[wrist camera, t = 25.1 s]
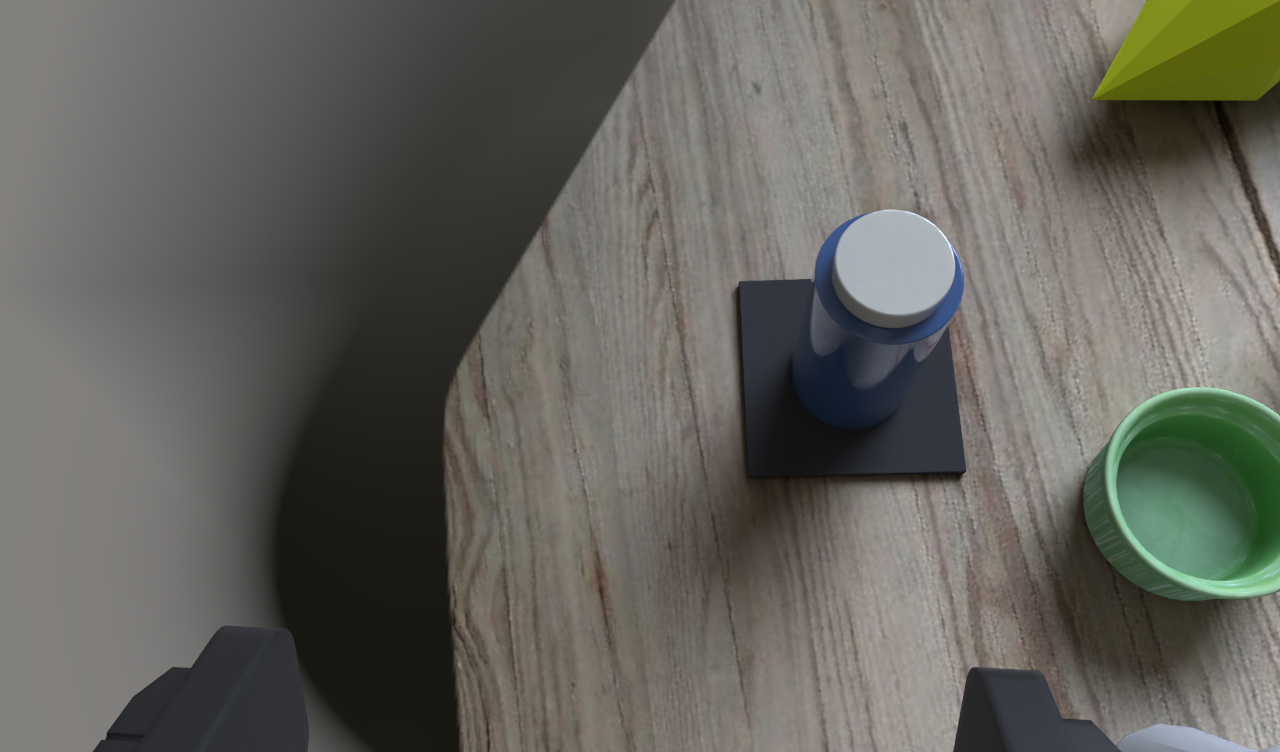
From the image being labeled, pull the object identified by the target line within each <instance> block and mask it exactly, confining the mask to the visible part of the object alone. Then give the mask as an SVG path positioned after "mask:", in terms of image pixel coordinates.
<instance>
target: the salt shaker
mask: <svg viewBox="0 0 1280 752" xmlns="http://www.w3.org/2000/svg"><path fill="white" fill-rule="evenodd" d="M1116 747H1117V748H1118V749H1119V750H1120V751H1121V752H1256V751H1254V750H1251V749H1248V748H1246V747H1243V746H1240V745H1238V744H1235V743H1232V742H1229V741H1227V740H1224V739H1221V738H1219V737H1216V736H1213V735H1211V734H1208V733H1205V732H1203V731H1200V730H1197V729H1195V728H1190V727H1181V726H1172V725H1163V724H1157V725H1154V726H1151V727H1148V728H1145V729H1142V730H1139V731H1136V732H1133V733H1130V734H1128V735H1126V736H1124V737H1123V738H1122V740H1121V741H1120V742H1119V743H1118V745H1117V746H1116ZM1259 752H1280V744H1279V745H1276V746H1273V747H1270V748H1267V749H1264V750H1261V751H1259Z"/></svg>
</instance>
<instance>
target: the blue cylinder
mask: <svg viewBox="0 0 1280 752" xmlns="http://www.w3.org/2000/svg"><path fill="white" fill-rule="evenodd" d="M963 289H964V274H963V269H962V265H961V262H960V259H959V257H958V255H957V253H956V251H955V249H954V247H953V246H952V245H951V243H950V242H949V240H948V239H947V238H946V237H945V235H944V234H943V233H942V232H941V231H940V230H939V228H937V227H936V226H935V225H934V224H933V223H931V222H930V221H928V220H927V219H925V218H923V217H921V216H919V215H917V214H914V213H911V212H907V211H902V210H881V211H877V212H872V213H867V214H863V215H860V216H857V217H855V218H853V219H850V220H848V221H846V222H845V223H843V224H842V225H840V226H839V227H838V228H837V229H835V230H834V231H833V232H832V233H831V234H830V235H829V237H828V238H827V239H826V240H825V242H824V244H823V245H822V247H821V249H820V251H819V253H818V257H817V260H816V264H815V268H814V272H813V276H812V280H811V284H810V288H809V292H808V297H807V301H806V305H805V309H804V313H803V317H802V321H801V326H800V330H799V334H798V338H797V342H796V346H795V350H794V354H793V359H792V364H791V379H792V384H793V388H794V391H795V393H796V395H797V397H798V399H799V401H800V402H801V404H802V405H803V406H804V407H805V409H806V410H808V411H809V412H810V413H811V414H812V415H813V416H814V417H816V418H817V419H819V420H820V421H822V422H824V423H826V424H829V425H831V426H834V427H838V428H843V429H864V428H868V427H872V426H875V425H878V424H879V423H881V422H883V421H885V420H886V419H888V418H889V417H891V416H892V415H893V414H894V413H895V412H896V411H897V410H898V408H899V407H900V406H901V404H902V403H903V401H904V399H905V397H906V396H907V394H908V392H909V391H910V389H911V387H912V386H913V384H914V382H915V380H916V379H917V377H918V375H919V374H920V372H921V370H922V369H923V367H924V365H925V363H926V362H927V360H928V358H929V357H930V355H931V353H932V352H933V350H934V348H935V346H936V345H937V343H938V341H939V340H940V338H941V336H942V335H943V333H944V331H945V329H946V328H947V326H948V324H949V323H950V321H951V319H952V318H953V316H954V314H955V312H956V311H957V309H958V307H959V304H960V302H961V299H962V295H963Z"/></svg>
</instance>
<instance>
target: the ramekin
mask: <svg viewBox="0 0 1280 752" xmlns="http://www.w3.org/2000/svg"><path fill="white" fill-rule="evenodd" d="M1083 500H1084V511H1085V519H1086V522H1087V525H1088V528H1089V531H1090V533H1091V536H1092V538H1093V540H1094V542H1095V543H1096V545H1097V547H1098V548H1099V550H1100V551H1101V553H1102V555H1103V556H1104V557H1105V558H1106V559H1107V561H1108V562H1109V563H1110V564H1111V565H1112V566H1113V567H1114V568H1115V569H1116V570H1117V571H1118V572H1119V573H1120V574H1121V575H1123V576H1124V577H1125V578H1127V579H1128V580H1129V581H1130V582H1132V583H1134V584H1135V585H1137V586H1139V587H1140V588H1142V589H1144V590H1146V591H1149V592H1151V593H1153V594H1156V595H1159V596H1163V597H1166V598H1169V599H1176V600H1182V601H1202V600H1210V599H1251V598H1257V597H1262V596H1266V595H1270V594H1273V593H1276V592H1278V591H1280V415H1278V414H1277V413H1276V412H1274V411H1273V410H1271V409H1269V408H1268V407H1266V406H1264V405H1263V404H1261V403H1259V402H1257V401H1255V400H1253V399H1250V398H1248V397H1246V396H1243V395H1240V394H1237V393H1234V392H1230V391H1226V390H1221V389H1216V388H1207V387H1202V388H1201V387H1191V388H1181V389H1176V390H1171V391H1168V392H1164V393H1162V394H1159V395H1157V396H1154V397H1152V398H1150V399H1148V400H1146V401H1145V402H1143V403H1142V404H1140V405H1139V406H1137V407H1136V408H1135V409H1133V410H1132V411H1131V412H1130V413H1129V414H1128V415H1127V416H1126V417H1125V418H1124V419H1123V420H1122V421H1121V423H1120V424H1119V425H1118V427H1117V428H1116V430H1115V431H1114V433H1113V434H1112V436H1111V438H1110V440H1109V442H1108V443H1107V444H1106V445H1105V446H1104V447H1103V448H1102V450H1101V451H1100V452H1099V454H1098V455H1097V456H1096V458H1095V459H1094V460H1093V462H1092V464H1091V466H1090V468H1089V470H1088V473H1087V477H1086V480H1085V484H1084V492H1083Z"/></svg>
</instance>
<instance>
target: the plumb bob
mask: <svg viewBox="0 0 1280 752" xmlns="http://www.w3.org/2000/svg"><path fill="white" fill-rule="evenodd" d="M1279 81H1280V0H1147V1H1146V3H1145V4H1144V6H1143V8H1142V10H1141V12H1140V13H1139V15H1138V17H1137V19H1136V21H1135V22H1134V24H1133V26H1132V28H1131V30H1130V31H1129V33H1128V35H1127V37H1126V39H1125V41H1124V42H1123V44H1122V46H1121V48H1120V50H1119V51H1118V53H1117V55H1116V57H1115V59H1114V60H1113V62H1112V64H1111V66H1110V68H1109V69H1108V71H1107V73H1106V75H1105V77H1104V79H1103V80H1102V82H1101V84H1100V86H1099V88H1098V89H1097V91H1096V93H1095V95H1094V97H1093V98H1092V100H1252V101H1257V100H1258V99H1259V98H1260V97H1261V96H1263V95H1264V94H1265V93H1266V92H1267V91H1268V90H1270V89H1271V88H1272V87H1273V86H1274V85H1275V84H1277V83H1278V82H1279Z"/></svg>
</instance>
